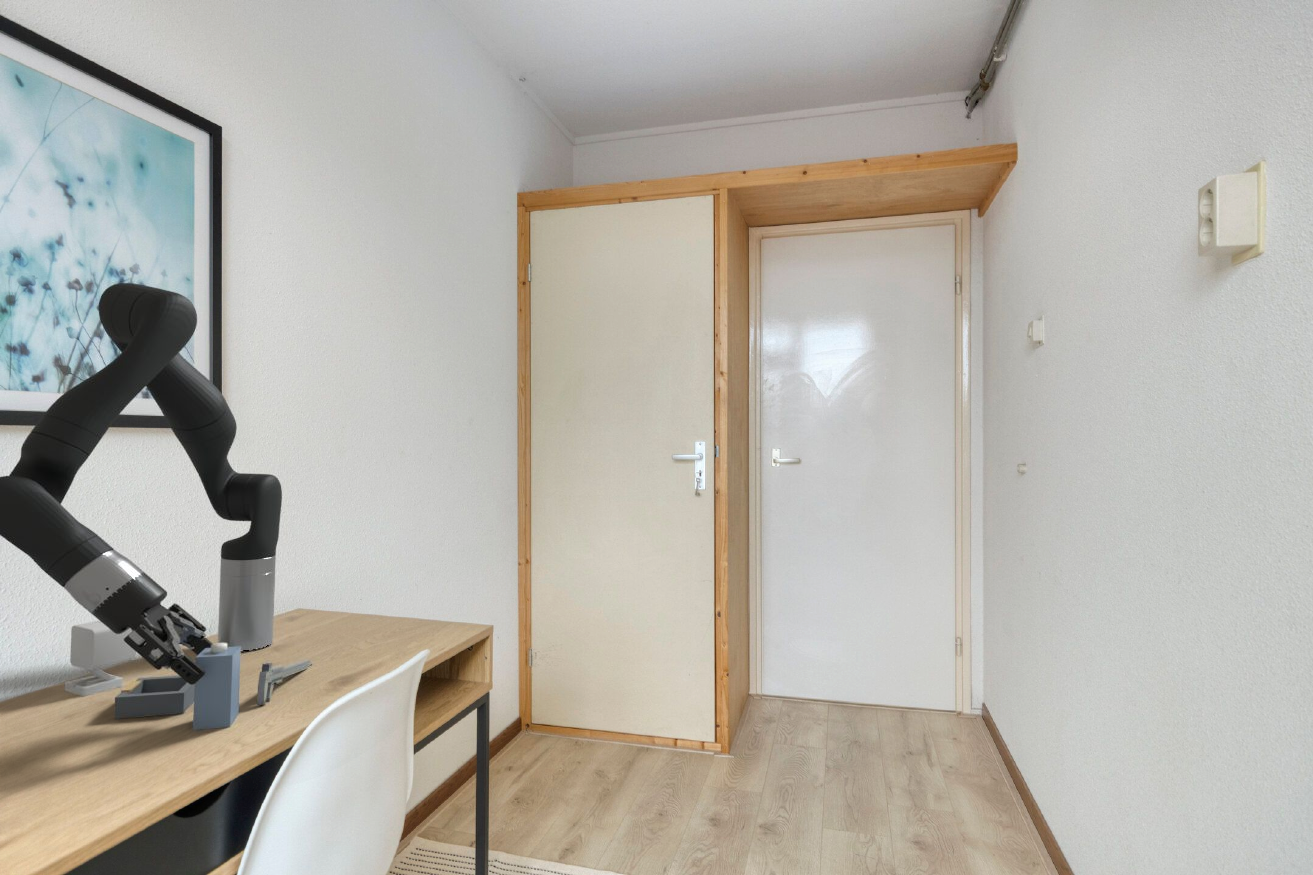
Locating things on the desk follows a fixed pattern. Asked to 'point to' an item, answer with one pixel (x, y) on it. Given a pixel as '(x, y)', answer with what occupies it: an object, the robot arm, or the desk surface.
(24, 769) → the desk surface
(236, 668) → the blue gray block
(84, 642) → the security camera
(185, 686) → the pocket plate
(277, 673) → the caliper
